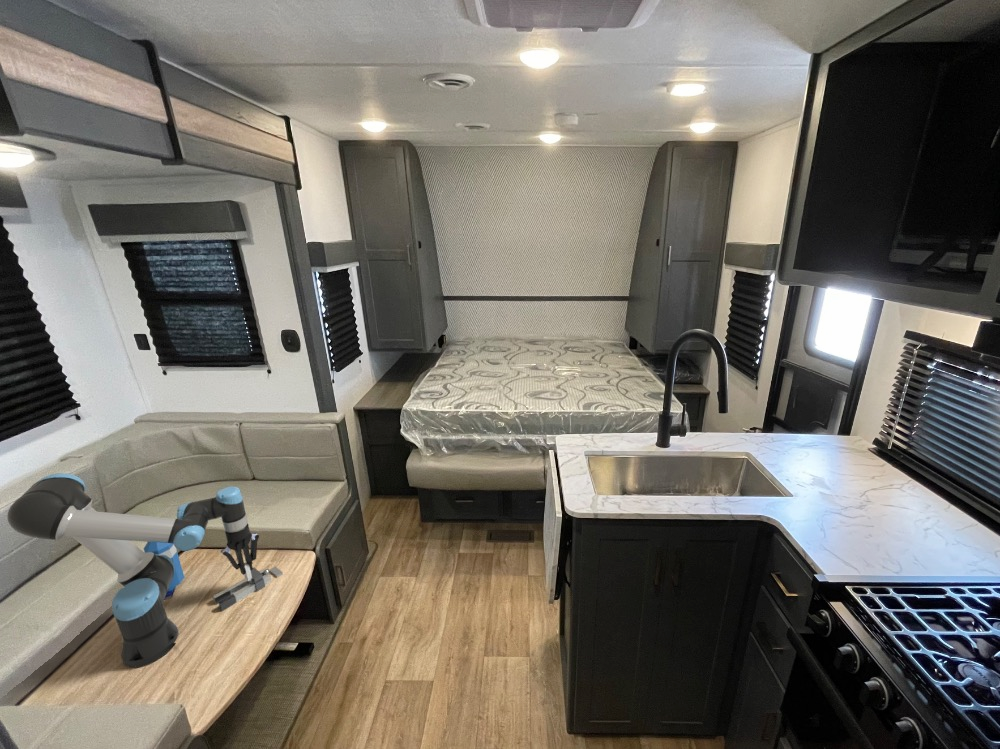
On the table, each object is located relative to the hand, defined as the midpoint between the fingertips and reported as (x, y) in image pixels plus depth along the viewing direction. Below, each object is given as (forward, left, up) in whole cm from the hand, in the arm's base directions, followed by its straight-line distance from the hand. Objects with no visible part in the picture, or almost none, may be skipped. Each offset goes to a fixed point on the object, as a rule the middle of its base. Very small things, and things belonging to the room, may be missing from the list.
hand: (248, 578), depth 165 cm
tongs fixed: (0, 0, -5) cm, 5 cm away
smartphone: (-17, +25, -7) cm, 31 cm away
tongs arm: (-2, +2, -5) cm, 5 cm away
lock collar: (+2, 0, -5) cm, 5 cm away
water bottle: (-17, +30, -6) cm, 35 cm away
